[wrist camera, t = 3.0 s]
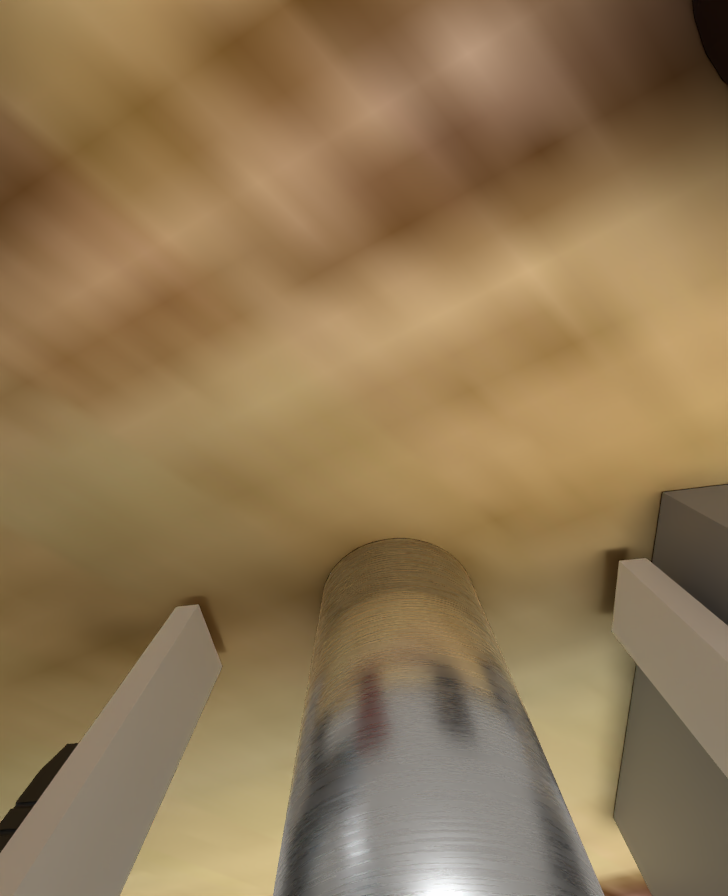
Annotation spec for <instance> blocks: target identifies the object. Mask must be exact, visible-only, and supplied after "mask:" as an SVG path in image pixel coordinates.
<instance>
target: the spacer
mask: <svg viewBox="0 0 728 896" xmlns="http://www.w3.org/2000/svg"><path fill="white" fill-rule="evenodd" d="M273 896H604V894H603V891H602V889H601V886H600V884H599V882H598V879H597V877H596V875H595V872H594V870H593V868H592V865H591V863H590V861H589V858H588V856H587V854H586V851H585V849H584V846H583V844H582V842H581V839H580V837H579V835H578V832H577V830H576V828H575V825H574V823H573V821H572V818H571V816H570V813H569V811H568V809H567V806H566V804H565V802H564V799H563V797H562V795H561V792H560V790H559V788H558V785H557V783H556V780H555V778H554V776H553V773H552V771H551V769H550V766H549V764H548V762H547V759H546V757H545V755H544V752H543V750H542V747H541V745H540V743H539V740H538V738H537V736H536V733H535V731H534V729H533V726H532V724H531V722H530V719H529V717H528V714H527V712H526V710H525V707H524V705H523V703H522V700H521V698H520V696H519V693H518V691H517V689H516V686H515V684H514V681H513V679H512V677H511V674H510V672H509V670H508V667H507V665H506V663H505V660H504V658H503V656H502V653H501V651H500V648H499V646H498V644H497V641H496V639H495V637H494V634H493V632H492V630H491V627H490V625H489V623H488V620H487V618H486V615H485V613H484V611H483V608H482V606H481V604H480V601H479V599H478V597H477V594H476V592H475V590H474V587H473V585H472V582H471V580H470V578H469V576H468V574H467V572H466V570H465V569H464V568H463V566H462V565H461V564H460V563H459V562H458V561H457V560H456V559H455V558H454V557H453V556H452V555H451V554H449V553H448V552H446V551H445V550H443V549H441V548H439V547H437V546H435V545H432V544H430V543H427V542H423V541H420V540H413V539H401V538H397V539H386V540H381V541H376V542H373V543H370V544H367V545H364V546H362V547H360V548H358V549H356V550H354V551H353V552H351V553H349V554H348V555H347V556H346V557H344V558H343V559H342V560H341V561H340V562H339V563H338V564H337V565H336V566H335V567H334V569H333V570H332V572H331V573H330V575H329V577H328V578H327V580H326V583H325V586H324V589H323V595H322V601H321V607H320V613H319V620H318V626H317V632H316V638H315V644H314V650H313V656H312V662H311V668H310V674H309V680H308V687H307V693H306V699H305V705H304V711H303V717H302V723H301V729H300V735H299V741H298V747H297V753H296V760H295V766H294V772H293V778H292V784H291V790H290V796H289V802H288V808H287V814H286V820H285V827H284V833H283V839H282V845H281V851H280V857H279V863H278V869H277V875H276V881H275V887H274V893H273Z"/></svg>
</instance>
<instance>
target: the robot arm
mask: <svg viewBox="0 0 728 896" xmlns="http://www.w3.org/2000/svg"><path fill="white" fill-rule="evenodd" d="M611 632H612V633H613V635H614V636H615V637H616V638H617V640H618V641H619V642H620V643H621V645H622V646H623V647H624V648H625V650H626V651H627V652H628V653H629V655H630V656H631V657H632V658H633V660H634V661H635V662H636V664H637V665H638V666H639V667H640V669H641V670H642V671H643V672H644V674H645V675H646V676H647V677H648V679H649V680H650V681H651V682H652V684H653V685H654V686H655V687H656V689H657V690H658V691H659V692H660V694H661V695H662V696H663V698H664V699H665V700H666V701H667V703H668V704H669V705H670V706H671V708H672V709H673V710H674V711H675V713H676V714H677V715H678V716H679V718H680V719H681V720H682V721H683V723H684V724H685V725H686V727H687V728H688V729H689V730H690V732H691V733H692V734H693V735H694V737H695V738H696V739H697V740H698V742H699V743H700V744H701V745H702V747H703V748H704V749H705V750H706V752H707V753H708V754H709V755H710V757H711V758H712V759H713V761H714V762H715V763H716V764H717V766H718V767H719V768H720V769H721V771H722V772H723V773H724V774H725V776H726V777H727V778H728V625H726V624H725V623H724V622H723V621H722V620H720V619H719V618H718V617H717V616H716V615H714V614H713V613H712V612H711V611H709V610H708V609H707V608H706V607H705V606H703V605H702V604H701V603H700V602H699V601H697V600H696V599H695V598H694V597H693V596H691V595H690V594H689V593H688V592H687V591H685V590H684V589H683V588H682V587H681V586H679V585H678V584H677V583H676V582H675V581H673V580H672V579H671V578H670V577H668V576H667V575H666V574H665V573H664V572H662V571H661V570H660V569H659V568H658V567H656V566H655V565H654V564H653V563H652V562H650V561H649V560H648V559H647V558H641V559H631V560H622V561H619V566H618V576H617V585H616V594H615V603H614V612H613V621H612V630H611ZM221 669H222V664H221V662H220V659H219V656H218V654H217V651H216V649H215V646H214V643H213V641H212V638H211V635H210V633H209V630H208V628H207V625H206V622H205V620H204V617H203V615H202V612H201V609H200V607H199V604H197V605H188V606H178V607H176V608H175V609H174V610H173V612H172V613H171V615H170V616H169V617H168V619H167V620H166V622H165V623H164V624H163V626H162V627H161V629H160V630H159V631H158V633H157V634H156V636H155V637H154V638H153V640H152V641H151V643H150V644H149V645H148V647H147V648H146V650H145V651H144V652H143V654H142V655H141V657H140V658H139V659H138V661H137V662H136V664H135V665H134V666H133V668H132V669H131V671H130V672H129V673H128V675H127V676H126V678H125V679H124V680H123V682H122V683H121V685H120V686H119V687H118V689H117V690H116V692H115V693H114V694H113V696H112V697H111V699H110V700H109V701H108V703H107V704H106V706H105V707H104V708H103V710H102V711H101V713H100V714H99V715H98V717H97V718H96V720H95V721H94V722H93V724H92V725H91V727H90V728H89V729H88V731H87V732H86V734H85V735H84V737H83V738H82V739H81V741H80V742H79V743H75V744H67V745H66V746H65V747H64V748H63V749H62V750H61V751H60V752H59V753H58V754H57V755H56V756H55V757H54V758H53V759H52V760H50V761H49V762H48V763H47V764H46V765H45V766H44V767H43V768H42V769H41V770H40V771H39V773H38V774H37V775H36V776H35V778H34V779H33V780H32V782H31V783H30V784H29V786H28V787H27V788H26V790H25V791H24V792H23V794H22V795H21V796H20V798H19V799H18V800H17V802H16V806H15V807H14V808H13V809H10V811H9V812H8V813H7V815H6V816H5V817H4V819H3V820H2V821H1V823H0V896H120V894H121V892H122V889H123V887H124V885H125V883H126V880H127V878H128V876H129V874H130V871H131V869H132V867H133V865H134V863H135V860H136V858H137V856H138V854H139V851H140V849H141V847H142V845H143V843H144V840H145V838H146V836H147V834H148V831H149V829H150V827H151V825H152V822H153V820H154V818H155V816H156V814H157V811H158V809H159V807H160V805H161V802H162V800H163V798H164V796H165V793H166V791H167V789H168V787H169V785H170V782H171V780H172V778H173V776H174V773H175V771H176V769H177V767H178V765H179V762H180V760H181V758H182V756H183V753H184V751H185V749H186V747H187V744H188V742H189V740H190V738H191V736H192V733H193V731H194V729H195V727H196V724H197V722H198V720H199V718H200V715H201V713H202V711H203V709H204V707H205V704H206V702H207V700H208V698H209V695H210V693H211V691H212V689H213V687H214V684H215V682H216V680H217V678H218V675H219V673H220V671H221Z"/></svg>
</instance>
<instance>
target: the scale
mask: <svg viewBox="0 0 728 896" xmlns="http://www.w3.org/2000/svg"><path fill="white" fill-rule="evenodd" d="M652 563H653V564H654V565H655V566H656V567H658V568H659V569H660V570H661V571H662V572H664V573H665V574H666V575H667V576H668V577H670V578H671V579H672V580H673V581H675V582H676V583H677V584H678V585H679V586H681V587H682V588H683V589H684V590H685V591H687V592H688V593H689V594H690V595H691V596H693V597H694V598H695V599H696V600H697V601H699V602H700V603H701V604H702V605H703V606H705V607H706V608H707V609H708V610H709V611H711V612H712V613H713V614H714V615H716V616H717V617H718V618H719V619H720V620H722V621H723V622H724V623H725V624H726V625H728V484H727V485H719V486H711V487H702V488H694V489H686V490H677V491H669V492H663V494H662V500H661V507H660V513H659V520H658V527H657V533H656V540H655V547H654V553H653V560H652ZM614 820H615V822H616V824H617V826H618V828H619V830H620V832H621V834H622V836H623V838H624V840H625V842H626V844H627V846H628V848H629V850H630V852H631V854H632V856H633V858H634V860H635V862H636V864H637V866H638V868H639V870H640V872H641V874H642V876H643V878H644V880H645V882H646V884H647V886H648V888H649V890H650V892H651V894H652V896H728V778H727V777H726V776H725V774H724V773H723V772H722V771H721V769H720V768H719V767H718V766H717V764H716V763H715V762H714V761H713V759H712V758H711V757H710V755H709V754H708V753H707V752H706V750H705V749H704V748H703V747H702V745H701V744H700V743H699V742H698V740H697V739H696V738H695V737H694V735H693V734H692V733H691V732H690V730H689V729H688V728H687V727H686V725H685V724H684V723H683V721H682V720H681V719H680V718H679V716H678V715H677V714H676V713H675V711H674V710H673V709H672V708H671V706H670V705H669V704H668V703H667V701H666V700H665V699H664V698H663V696H662V695H661V694H660V692H659V691H658V690H657V689H656V687H655V686H654V685H653V684H652V682H651V681H650V680H649V679H648V677H647V676H646V675H645V674H644V672H643V671H642V670H641V669H640V667H639V666H638V665H637V666H636V672H635V679H634V685H633V692H632V699H631V705H630V712H629V718H628V725H627V732H626V738H625V745H624V752H623V758H622V765H621V771H620V778H619V785H618V791H617V798H616V804H615V811H614Z"/></svg>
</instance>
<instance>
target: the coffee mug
mask: <svg viewBox="0 0 728 896" xmlns="http://www.w3.org/2000/svg"><path fill="white" fill-rule="evenodd" d="M693 8H694V16H695V20H696V23H697V26H698V29H699V32H700V35H701V38H702V41H703V45H704V48H705V51H706V53H707V54H708V56H709V58H710V59H711V61H712V63H713V64H714V66H715V68H716V69H717V71H718V73H719V74H720V76H721V78H722V79H723V80H724V81H725V82H726V83H727V84H728V0H693Z"/></svg>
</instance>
